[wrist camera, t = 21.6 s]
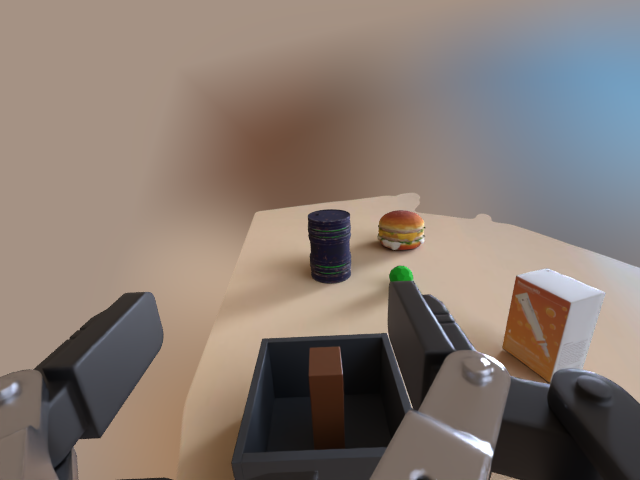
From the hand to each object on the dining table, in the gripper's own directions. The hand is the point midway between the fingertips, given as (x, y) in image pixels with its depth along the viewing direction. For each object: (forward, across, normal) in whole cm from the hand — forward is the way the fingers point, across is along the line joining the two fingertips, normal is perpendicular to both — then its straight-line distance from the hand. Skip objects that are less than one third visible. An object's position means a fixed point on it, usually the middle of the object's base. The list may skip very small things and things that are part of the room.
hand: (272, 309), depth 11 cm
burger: (+78, -25, +30) cm, 87 cm away
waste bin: (+16, -2, +29) cm, 33 cm away
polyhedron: (+53, -19, +30) cm, 64 cm away
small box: (+29, -34, +29) cm, 53 cm away
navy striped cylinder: (+61, -4, +30) cm, 68 cm away
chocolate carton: (+16, -2, +28) cm, 33 cm away
